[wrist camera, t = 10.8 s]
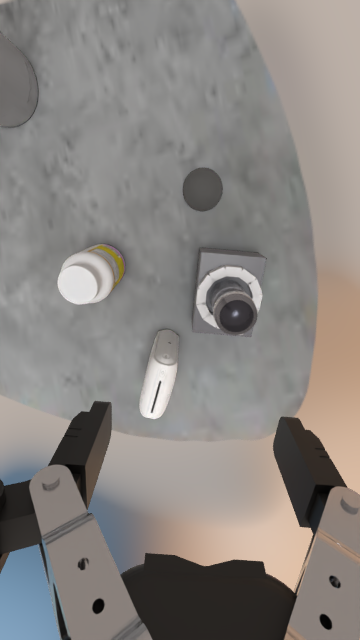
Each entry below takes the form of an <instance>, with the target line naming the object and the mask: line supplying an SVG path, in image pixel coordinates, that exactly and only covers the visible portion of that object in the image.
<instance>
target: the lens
mask: <svg viewBox="0 0 360 640" xmlns="http://www.w3.org/2000/svg"><path fill="white" fill-rule="evenodd" d="M210 302H211V306H212V309H213V316H214V320H215V322H216V324H217V325H218V327H219V328H220V329H221V330H222V331H223V332H225V333H227V334H230V335H240V334H244V333H246V332H247V331H249V330H250V329H251V328H252V327H253V326H254V324H255V323H256V320H257V308H256V306H255V303H254V301H253V300H252V299H251V297H250V296H249V295H247V293H246V292H245V290H244V289H243V288H242V286H241V285H240V284H239V283H238V282H236V281H233V280H223V281H220V282H218V283H217V284H216V285H215V286H214V287H213V288H212V290H211V293H210Z"/></svg>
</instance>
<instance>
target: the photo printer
mask: <svg viewBox="0 0 360 640" xmlns="http://www.w3.org/2000/svg"><path fill="white" fill-rule="evenodd" d="M178 344H179V336H178V335H176V333H175V332H173V331H171V330H167V329H165V330H162V331H159V332H158V333H157V335H156V337H155V340H154V344H153V347H152V350H151V354H150V358H149V361H148V365H147V370H146V374H145V379H144V383H143V388H142V392H141V397H140V403H139V407H140V412H141V414H142V415H143V416H145V417H146V418H152V419H157V418H159V417H160V416H161V415H162V414H163V412H164V411H165V409H166V407H167V404H168V402H169V399H170V396H171V393H172V389H173V386H174V382H175V378H176V373H177V366H178Z"/></svg>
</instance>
